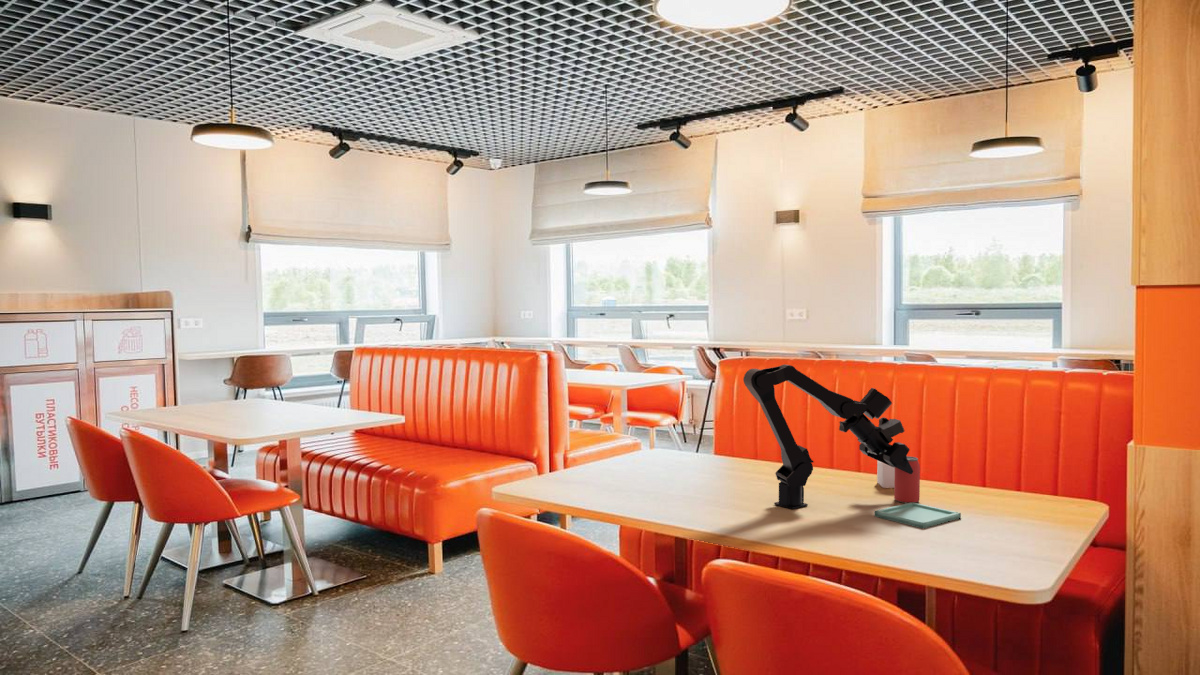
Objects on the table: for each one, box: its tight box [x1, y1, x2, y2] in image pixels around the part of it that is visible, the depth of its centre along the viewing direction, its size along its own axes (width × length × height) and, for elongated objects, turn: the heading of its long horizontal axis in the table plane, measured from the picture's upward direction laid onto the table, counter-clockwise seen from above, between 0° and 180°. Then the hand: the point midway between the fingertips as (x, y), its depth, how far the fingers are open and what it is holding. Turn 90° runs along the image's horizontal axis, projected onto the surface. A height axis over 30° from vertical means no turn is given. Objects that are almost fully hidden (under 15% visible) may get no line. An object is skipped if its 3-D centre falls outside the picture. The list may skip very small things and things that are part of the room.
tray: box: [873, 502, 962, 529], centre depth 209 cm, size 16×14×1 cm
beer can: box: [893, 455, 921, 504], centre depth 226 cm, size 7×7×12 cm
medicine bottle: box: [876, 460, 895, 489], centre depth 245 cm, size 7×7×12 cm
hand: (903, 469), depth 225 cm, fingers open, 9 cm apart
